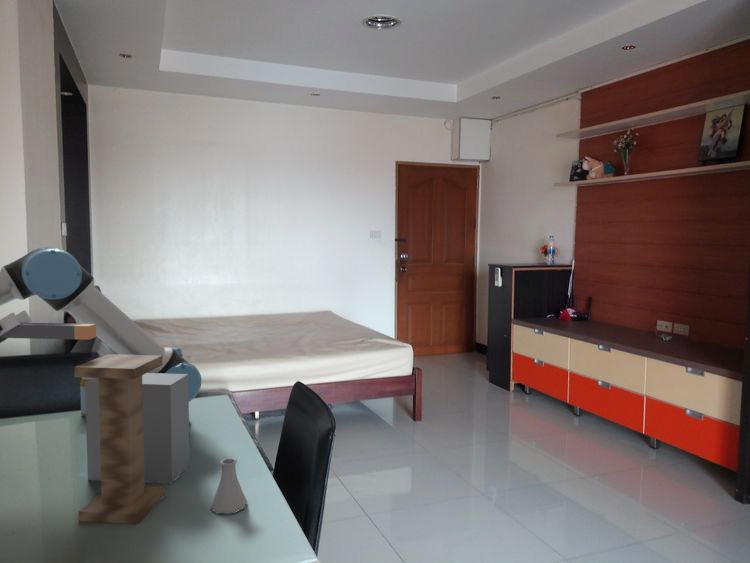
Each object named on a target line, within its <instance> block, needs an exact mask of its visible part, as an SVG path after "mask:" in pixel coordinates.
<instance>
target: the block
mask: <svg viewBox="0 0 750 563" xmlns="http://www.w3.org/2000/svg"><path fill="white" fill-rule="evenodd" d="M142 387H143V437H144V483H145V484H146V483H147V484H148V483H150V484H151V482H152V484H155V483H154V482H157V483H156V484H169V483H172V484H174V482H176V480H177V479H178V478H179V477H180V476H181V475H182V474H183V473H184V472H185V471H186V470H187V469H188V468H189V467H190V415H189V414H190V412H189V411H190V407H189V406H190V405H189V403H190V402H189V392H188V374H166V373H146V374H144V375H142ZM85 397H86V417H85V423H86V424H85V425H86V428H85V430H86V459H87V460H86V461H87V465H86V466H87V480H88V481H100V482H101V458H100V420H99V382H98V378H94V379H91V380H89V381H87V382H85ZM188 466H189V467H188ZM187 467H188V468H187ZM186 468H187V469H186ZM185 469H186V470H185ZM184 470H185V471H184ZM183 471H184V472H183ZM182 472H183V473H182ZM181 473H182V474H181ZM180 474H181V475H180ZM179 475H180V476H179ZM178 476H179V477H178ZM177 477H178V478H177ZM176 478H177V479H176ZM175 479H176V480H175ZM173 481H174V482H173Z"/></svg>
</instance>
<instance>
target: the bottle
mask: <svg viewBox="0 0 750 563" xmlns="http://www.w3.org/2000/svg"><path fill="white" fill-rule="evenodd" d="M91 379H94V378H85V377H81V380H80V386H79V389H80V415H81V416H83V417H84V418H86V397H85V382H87V381H89V380H91Z"/></svg>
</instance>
